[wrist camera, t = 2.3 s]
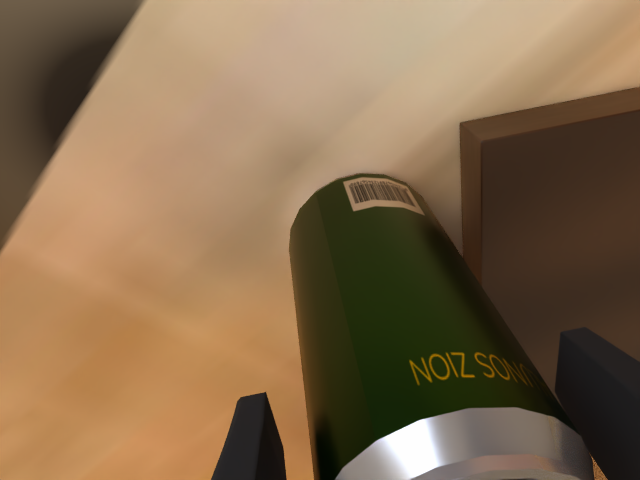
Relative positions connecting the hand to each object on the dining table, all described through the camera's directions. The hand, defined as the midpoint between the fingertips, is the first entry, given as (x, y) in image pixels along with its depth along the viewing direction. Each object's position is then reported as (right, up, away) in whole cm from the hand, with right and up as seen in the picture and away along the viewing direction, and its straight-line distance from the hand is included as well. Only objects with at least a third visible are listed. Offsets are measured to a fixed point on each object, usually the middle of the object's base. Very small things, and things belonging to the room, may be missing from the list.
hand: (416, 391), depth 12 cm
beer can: (-1, +4, +7) cm, 8 cm away
